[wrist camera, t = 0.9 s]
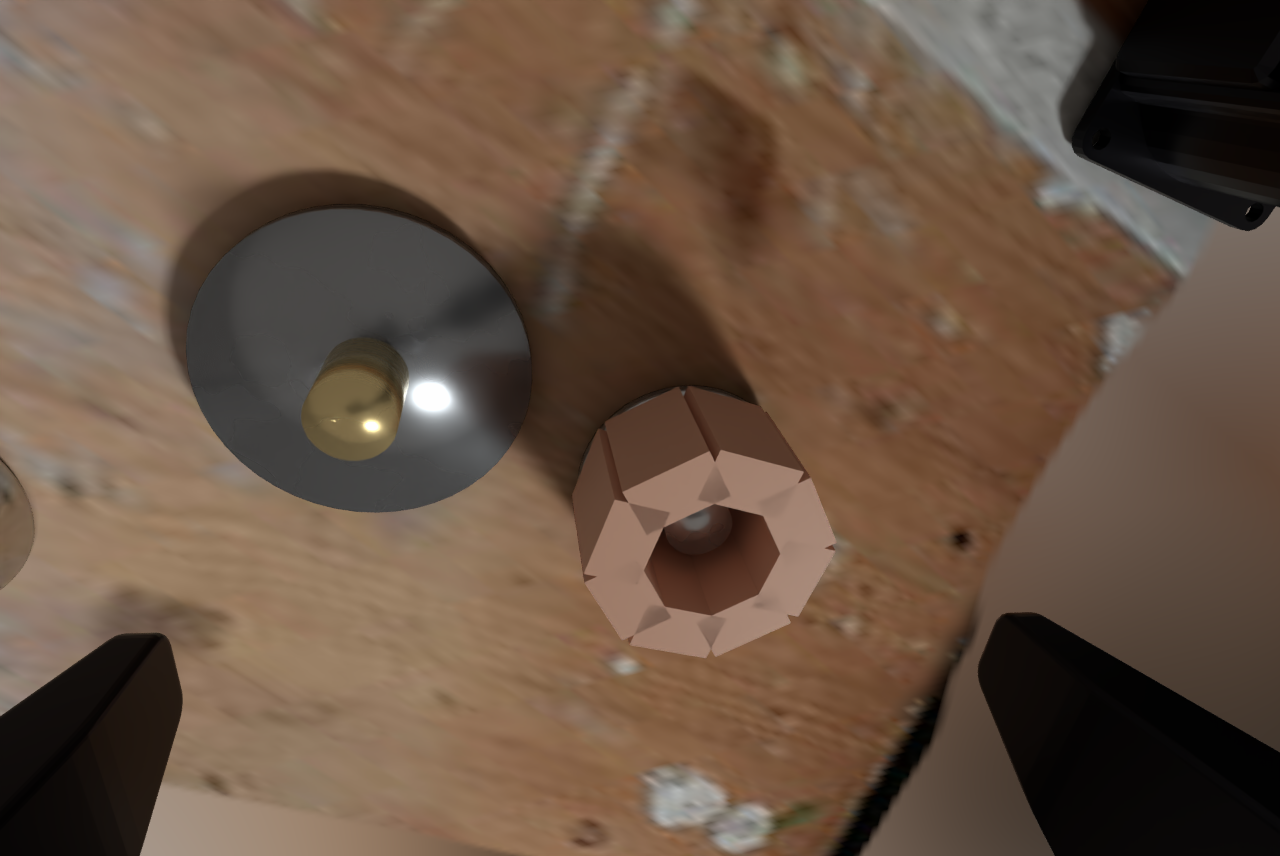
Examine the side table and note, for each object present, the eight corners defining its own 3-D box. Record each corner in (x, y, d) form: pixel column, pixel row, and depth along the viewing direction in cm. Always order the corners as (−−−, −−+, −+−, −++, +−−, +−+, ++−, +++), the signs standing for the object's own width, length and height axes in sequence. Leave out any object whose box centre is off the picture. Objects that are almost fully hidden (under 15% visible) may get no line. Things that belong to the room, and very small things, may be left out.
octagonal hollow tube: (819, 423, 22) (870, 489, 19) (734, 586, 24) (768, 668, 21) (622, 366, 20) (643, 429, 17) (551, 548, 22) (558, 632, 19)
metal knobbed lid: (814, 416, 22) (847, 458, 20) (730, 578, 25) (752, 630, 22) (619, 360, 20) (633, 399, 18) (550, 540, 23) (555, 594, 21)
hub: (572, 266, 19) (583, 307, 16) (483, 526, 22) (481, 594, 20) (219, 152, 17) (167, 178, 14) (176, 461, 20) (127, 530, 17)
